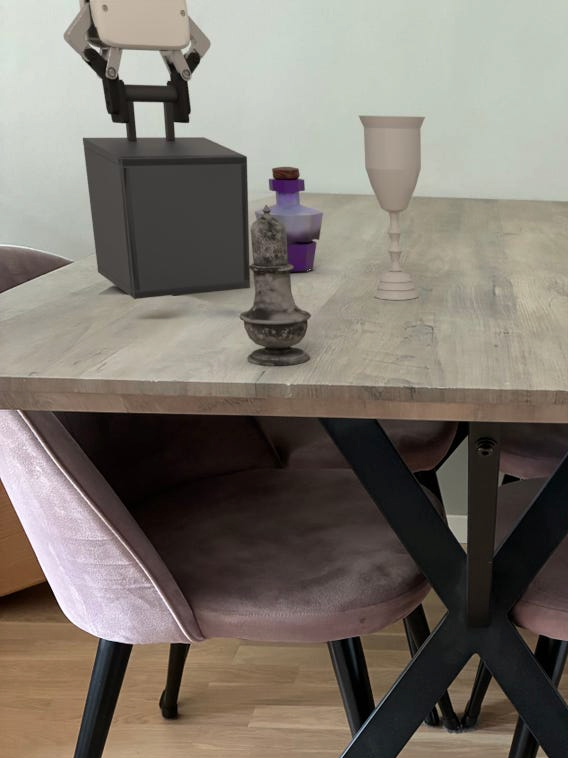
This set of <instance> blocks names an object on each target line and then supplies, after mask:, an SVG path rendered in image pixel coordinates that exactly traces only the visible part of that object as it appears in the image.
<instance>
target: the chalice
mask: <svg viewBox="0 0 568 758" xmlns="http://www.w3.org/2000/svg"><path fill="white" fill-rule="evenodd" d="M358 118H359V120H360V123H361V125H362V126H363V127H362V128H363V135H364V136H363V144H364V167H365V171H366V174H367V177H368V180H369V184H370V186H371V188H372V191H373V194H374V195H375V197H376V200H377V202H378V204H379V206H380V208H381V209H382V210H383V211H385V212H387V213H388V215H389V220H390V222H389V229H387V234H388V236H389V240H390V244H389V247H388V248H387V249H386V250H387V252H388V253H389V256H390V261H391V262H390V268H389V269H388V272H386V273H383V274H382V275H381V277H380V278H379V282H378V284H377V286H376V288H377V289H376V291H375V293H374V294H373V297H374V298H376V299H381V300H388V301H389V300H390V301H405V300H413V299H416V298H419V294H418V293H417V291H416V289H415V288H416V286H415V285H414V283H413V278H412V277H411V276H410V275H409V274H408V273H405V272H403V268H401V263H400V260H401V259H400V258H401V254H402V253H403V252H404V250H403V248H402V247H401V244H400V237H401V235H402V233H403V231H402V230H401V228H400V222H399V218H400V213H402V212H404V211H406V210H407V209H408V207H409V204H410V201H411V200H412V197H413V194H414V192H415V189H416V187H417V183H418V180H419V177H420V173H421V169H422V146H421V145H422V144H421V143H422V142H421V140H422V139H421V137H422V135H421V134H422V133H421V132H422V131H421V128H422V126H423V123H424V121H425V119H426V116H416V115H415V116H411V115H410V116H409V115H408V116H407V115H358Z"/></svg>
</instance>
